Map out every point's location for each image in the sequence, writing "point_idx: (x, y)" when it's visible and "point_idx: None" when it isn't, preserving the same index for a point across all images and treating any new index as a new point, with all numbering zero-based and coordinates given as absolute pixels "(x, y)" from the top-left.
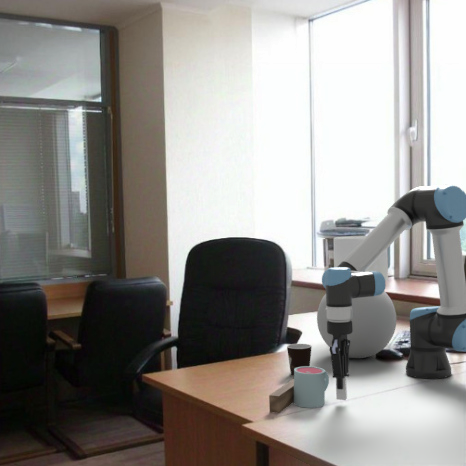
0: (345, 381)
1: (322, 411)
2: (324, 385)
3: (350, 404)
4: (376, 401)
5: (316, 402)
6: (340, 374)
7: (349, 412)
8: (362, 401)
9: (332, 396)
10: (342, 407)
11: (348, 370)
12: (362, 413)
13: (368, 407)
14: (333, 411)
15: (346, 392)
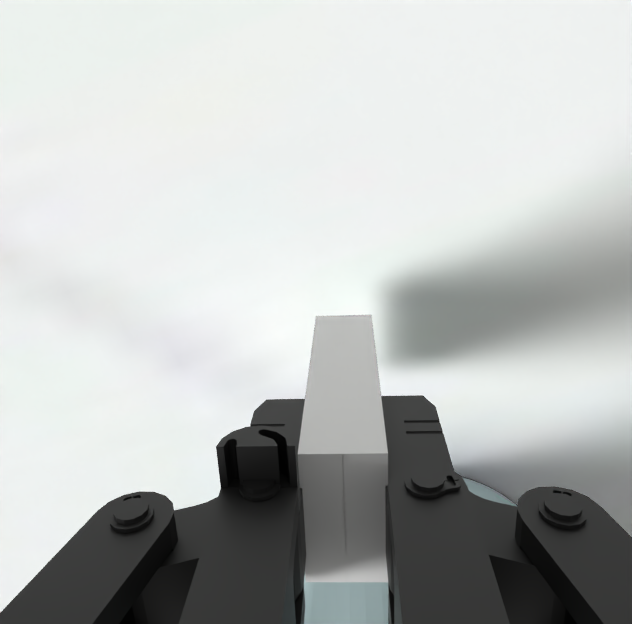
0: (344, 418)
1: (610, 425)
2: None
3: (298, 265)
4: (69, 37)
5: None
6: (629, 546)
7: (581, 185)
8: (143, 186)
9: (120, 487)
10: (427, 304)
11: (114, 512)
12: (584, 36)
13: (333, 47)
14: (586, 339)
15: (318, 344)
